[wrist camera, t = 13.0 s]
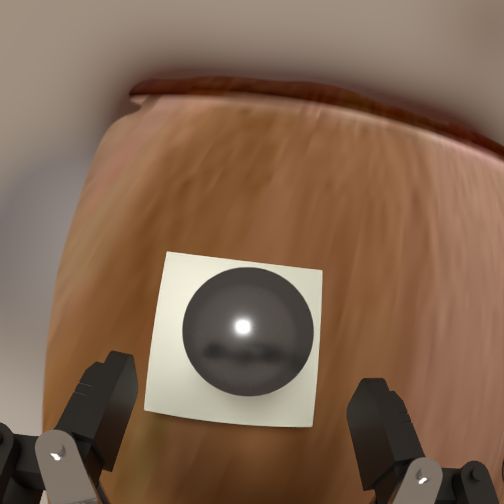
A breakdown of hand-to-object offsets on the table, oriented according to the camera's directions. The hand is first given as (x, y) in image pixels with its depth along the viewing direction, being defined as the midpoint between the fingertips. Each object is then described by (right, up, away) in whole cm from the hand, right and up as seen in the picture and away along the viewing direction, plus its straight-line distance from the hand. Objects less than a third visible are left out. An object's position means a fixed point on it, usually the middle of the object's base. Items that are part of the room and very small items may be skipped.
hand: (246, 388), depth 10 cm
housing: (-1, -1, +9) cm, 10 cm away
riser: (-1, -2, +12) cm, 12 cm away
